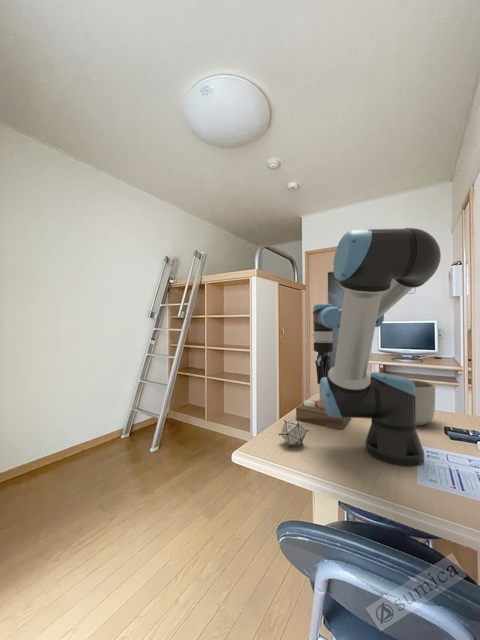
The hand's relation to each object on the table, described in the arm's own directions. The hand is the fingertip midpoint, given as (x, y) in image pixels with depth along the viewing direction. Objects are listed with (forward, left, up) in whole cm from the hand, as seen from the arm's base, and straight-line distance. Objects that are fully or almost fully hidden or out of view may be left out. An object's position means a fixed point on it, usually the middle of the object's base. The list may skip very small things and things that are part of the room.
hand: (323, 399), depth 111 cm
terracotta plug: (0, 0, -6) cm, 6 cm away
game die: (-29, +1, -8) cm, 30 cm away
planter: (+16, -29, -8) cm, 34 cm away
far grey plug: (0, +6, -7) cm, 9 cm away
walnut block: (0, 0, -8) cm, 8 cm away
